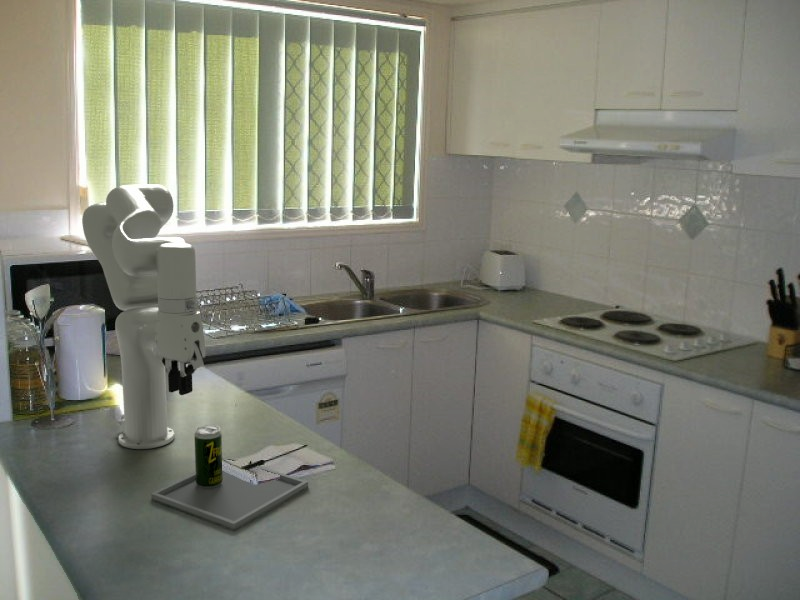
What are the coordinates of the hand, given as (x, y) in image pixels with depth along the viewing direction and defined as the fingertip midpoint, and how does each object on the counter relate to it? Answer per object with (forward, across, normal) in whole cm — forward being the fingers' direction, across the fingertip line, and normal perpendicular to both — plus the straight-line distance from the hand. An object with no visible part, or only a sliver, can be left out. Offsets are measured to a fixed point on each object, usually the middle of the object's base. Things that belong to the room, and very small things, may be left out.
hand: (180, 391), depth 170 cm
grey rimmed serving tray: (+19, -14, 0) cm, 23 cm away
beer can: (+19, -7, 0) cm, 20 cm away
